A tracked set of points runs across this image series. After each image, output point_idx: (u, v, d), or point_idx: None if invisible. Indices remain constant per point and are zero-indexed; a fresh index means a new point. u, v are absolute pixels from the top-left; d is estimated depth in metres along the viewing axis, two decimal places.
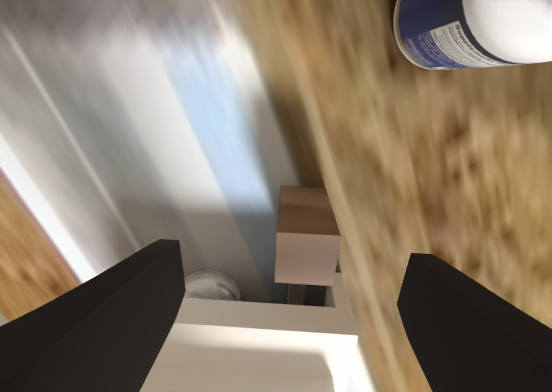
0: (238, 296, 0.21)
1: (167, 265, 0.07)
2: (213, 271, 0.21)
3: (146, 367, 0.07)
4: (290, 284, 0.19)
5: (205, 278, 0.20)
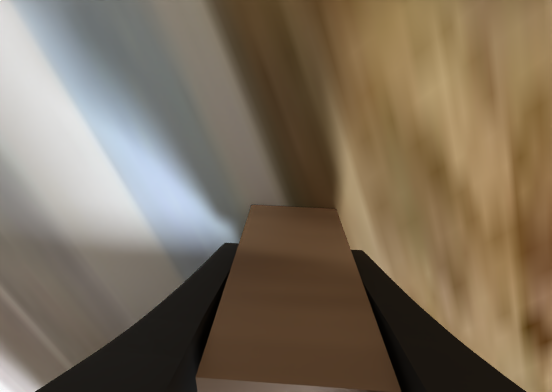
0: None
1: None
2: None
3: None
4: None
5: None
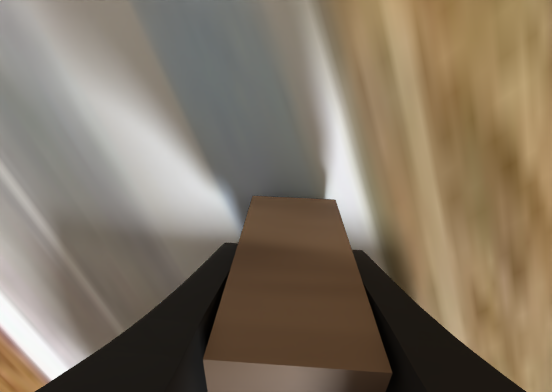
0: None
1: None
2: None
3: None
4: None
5: None
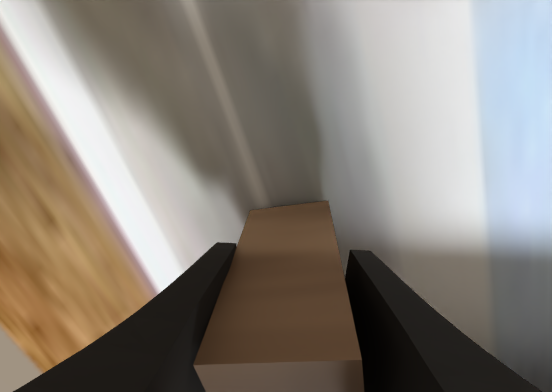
0: None
1: None
2: None
3: None
4: None
5: None
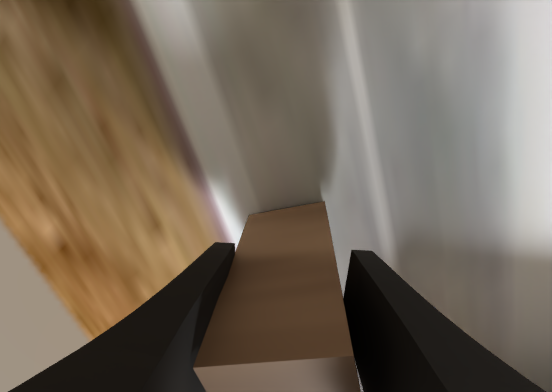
0: None
1: (228, 269, 0.07)
2: None
3: None
4: None
5: None
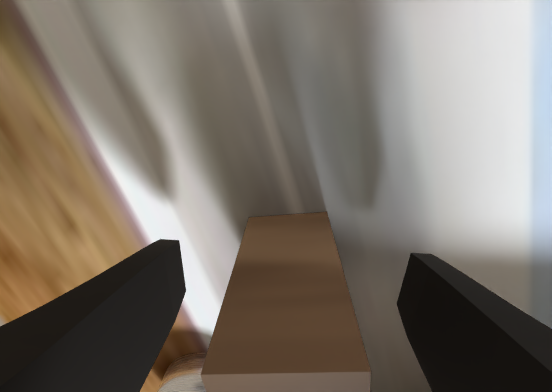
0: None
1: (167, 265, 0.07)
2: None
3: (146, 367, 0.07)
4: None
5: (193, 372, 0.13)
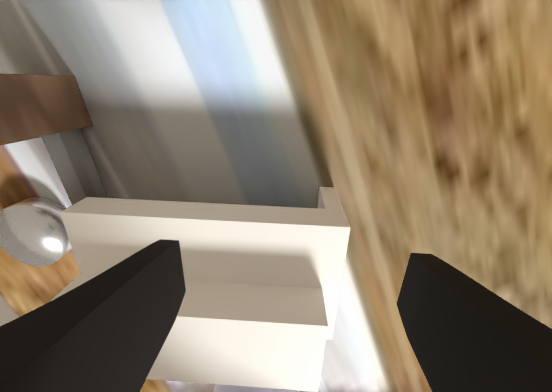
0: None
1: (167, 265, 0.07)
2: (36, 198, 0.20)
3: (146, 367, 0.07)
4: (68, 191, 0.17)
5: (20, 202, 0.19)
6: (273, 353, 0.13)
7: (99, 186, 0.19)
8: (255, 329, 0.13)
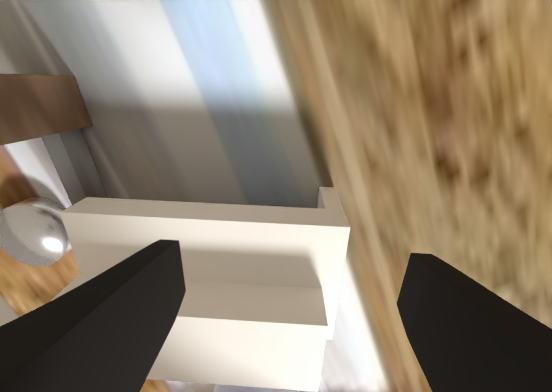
0: None
1: (167, 265, 0.07)
2: (36, 198, 0.20)
3: (146, 367, 0.07)
4: (67, 192, 0.17)
5: (20, 202, 0.19)
6: (272, 353, 0.13)
7: (99, 186, 0.19)
8: (255, 329, 0.13)
